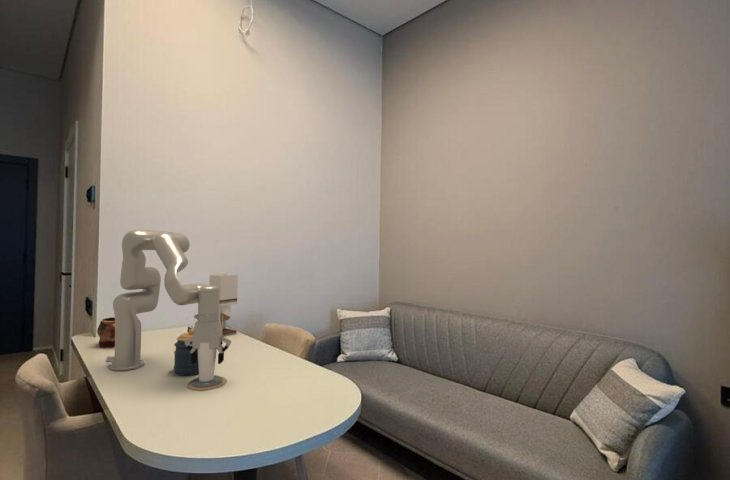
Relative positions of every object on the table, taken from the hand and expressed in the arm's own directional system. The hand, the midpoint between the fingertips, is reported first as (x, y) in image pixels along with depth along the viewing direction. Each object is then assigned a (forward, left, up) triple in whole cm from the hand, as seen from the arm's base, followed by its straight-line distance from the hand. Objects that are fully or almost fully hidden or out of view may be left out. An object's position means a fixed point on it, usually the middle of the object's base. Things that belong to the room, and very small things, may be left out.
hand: (207, 362), depth 144 cm
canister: (-12, +14, -8) cm, 20 cm away
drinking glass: (0, 0, -7) cm, 7 cm away
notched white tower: (-21, +78, -8) cm, 81 cm away
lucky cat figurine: (-21, +49, -8) cm, 54 cm away
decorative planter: (-68, +51, -8) cm, 85 cm away
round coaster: (0, 0, -8) cm, 8 cm away
